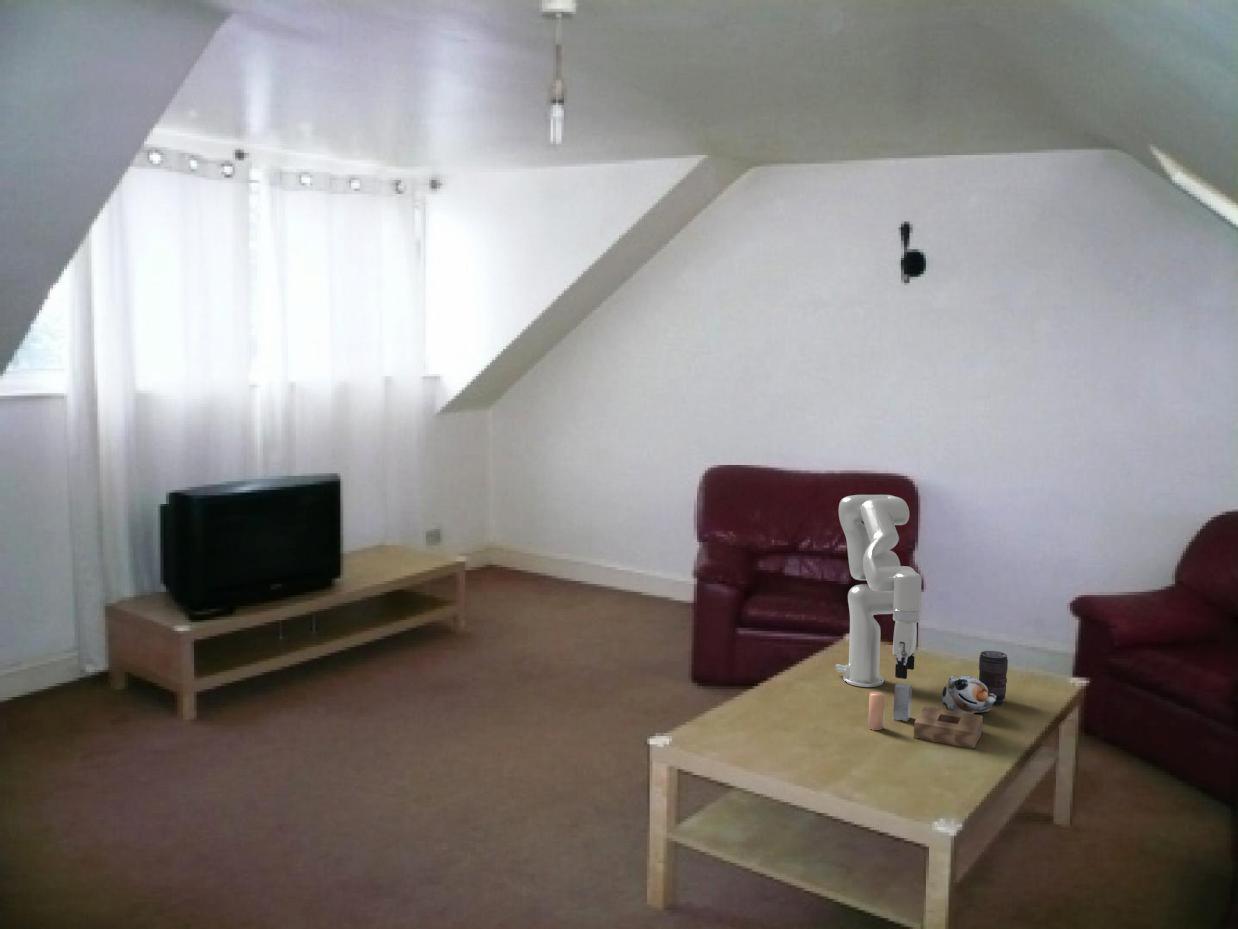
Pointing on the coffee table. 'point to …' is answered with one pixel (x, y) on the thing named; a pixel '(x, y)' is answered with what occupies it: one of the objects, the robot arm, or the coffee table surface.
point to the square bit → (902, 701)
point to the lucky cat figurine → (967, 695)
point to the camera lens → (994, 673)
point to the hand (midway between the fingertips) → (904, 673)
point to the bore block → (948, 727)
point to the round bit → (876, 710)
